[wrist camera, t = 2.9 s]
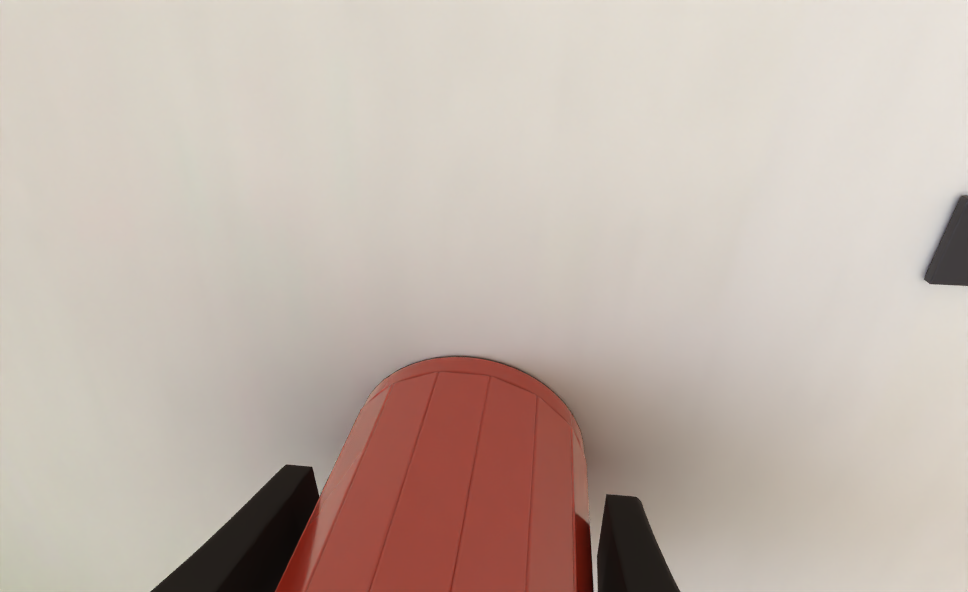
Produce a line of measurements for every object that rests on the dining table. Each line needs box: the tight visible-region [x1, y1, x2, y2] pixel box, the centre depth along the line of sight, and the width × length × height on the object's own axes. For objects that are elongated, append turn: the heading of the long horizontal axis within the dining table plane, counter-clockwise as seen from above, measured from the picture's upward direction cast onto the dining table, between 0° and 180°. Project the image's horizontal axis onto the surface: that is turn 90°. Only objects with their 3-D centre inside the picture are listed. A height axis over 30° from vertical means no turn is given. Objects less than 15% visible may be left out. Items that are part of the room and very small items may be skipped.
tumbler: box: [275, 357, 593, 592], centre depth 10 cm, size 6×6×7 cm
